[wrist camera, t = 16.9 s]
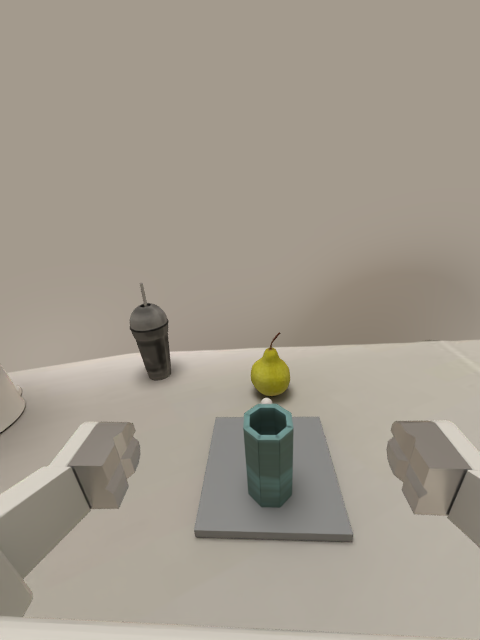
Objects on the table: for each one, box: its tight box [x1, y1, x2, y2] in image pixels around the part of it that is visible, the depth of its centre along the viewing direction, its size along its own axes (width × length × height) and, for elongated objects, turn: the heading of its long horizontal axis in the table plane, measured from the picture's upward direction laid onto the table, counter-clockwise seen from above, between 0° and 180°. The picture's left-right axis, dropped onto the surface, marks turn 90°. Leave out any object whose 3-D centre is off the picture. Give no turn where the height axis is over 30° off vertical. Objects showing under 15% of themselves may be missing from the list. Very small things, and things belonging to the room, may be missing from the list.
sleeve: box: [243, 404, 294, 508], centre depth 30 cm, size 5×5×10 cm
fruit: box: [251, 333, 290, 396], centre depth 47 cm, size 7×7×12 cm
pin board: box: [194, 398, 353, 542], centre depth 34 cm, size 16×16×7 cm
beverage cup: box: [130, 283, 171, 380], centre depth 53 cm, size 7×7×20 cm
